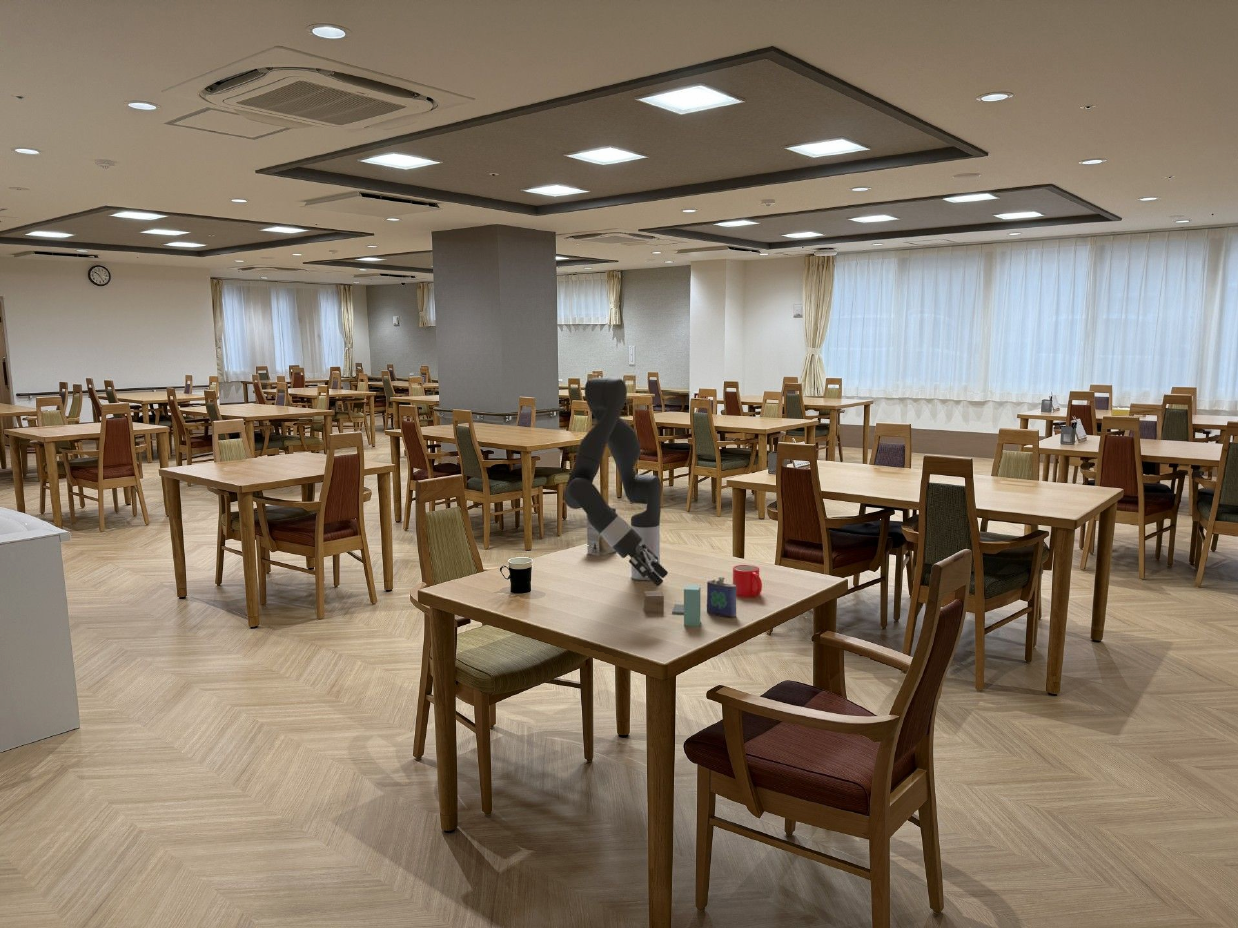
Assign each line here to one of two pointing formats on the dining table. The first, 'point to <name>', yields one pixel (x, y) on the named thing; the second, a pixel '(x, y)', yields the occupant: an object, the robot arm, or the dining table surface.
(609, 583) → the dining table surface
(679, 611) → the slate coaster
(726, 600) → the flask
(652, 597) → the walnut block
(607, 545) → the coffee box
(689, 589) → the teal post
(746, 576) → the mug
